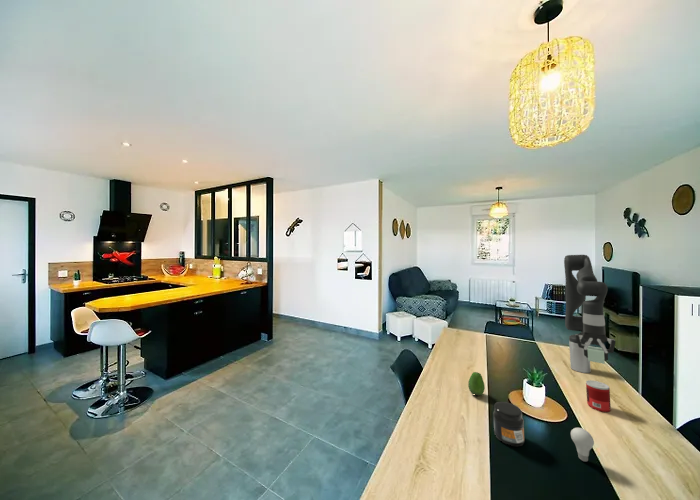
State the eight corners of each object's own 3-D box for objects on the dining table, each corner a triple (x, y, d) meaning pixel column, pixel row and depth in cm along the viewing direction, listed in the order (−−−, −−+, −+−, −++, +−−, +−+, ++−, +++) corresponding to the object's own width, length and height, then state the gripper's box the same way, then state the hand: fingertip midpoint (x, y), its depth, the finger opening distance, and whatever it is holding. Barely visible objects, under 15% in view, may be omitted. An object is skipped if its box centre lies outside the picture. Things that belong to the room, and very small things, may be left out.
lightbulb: (567, 454, 91) (565, 424, 92) (582, 453, 92) (580, 422, 92) (584, 468, 85) (582, 436, 86) (600, 467, 86) (598, 434, 86)
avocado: (487, 399, 127) (486, 375, 127) (470, 398, 129) (469, 375, 129) (482, 391, 135) (481, 368, 135) (466, 390, 136) (465, 368, 137)
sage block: (587, 357, 122) (587, 345, 122) (603, 359, 118) (603, 348, 119) (588, 360, 118) (587, 349, 118) (604, 363, 114) (604, 351, 115)
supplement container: (525, 452, 93) (524, 419, 94) (493, 441, 99) (492, 411, 99) (524, 434, 102) (522, 405, 102) (494, 426, 108) (493, 398, 108)
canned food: (615, 413, 113) (614, 389, 113) (595, 411, 115) (593, 387, 115) (602, 403, 121) (601, 380, 121) (583, 402, 122) (581, 379, 123)
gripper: (614, 323, 117) (616, 360, 116) (573, 319, 126) (575, 352, 126) (616, 327, 111) (618, 365, 111) (573, 322, 121) (575, 357, 120)
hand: (595, 358), depth 118 cm, fingers closed on sage block, 5 cm apart
